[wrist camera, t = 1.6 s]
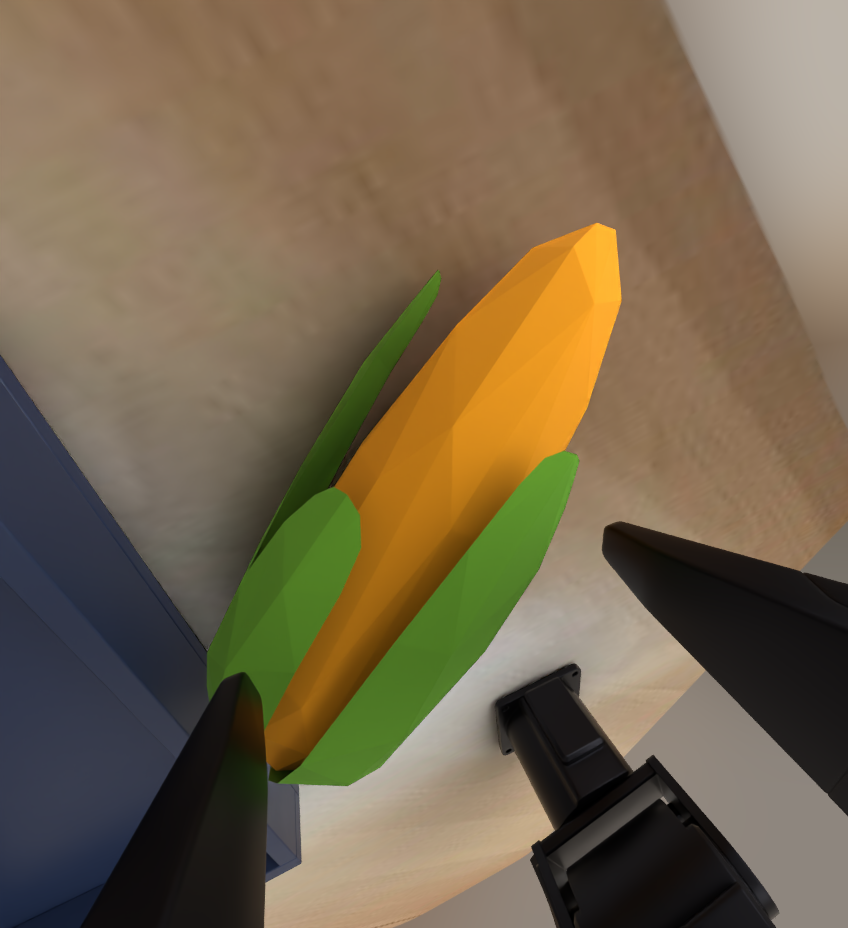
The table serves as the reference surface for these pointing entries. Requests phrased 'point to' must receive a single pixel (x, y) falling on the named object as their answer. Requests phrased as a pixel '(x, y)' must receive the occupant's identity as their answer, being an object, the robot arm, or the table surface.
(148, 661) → the tray
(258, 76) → the table surface
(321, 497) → the corn
